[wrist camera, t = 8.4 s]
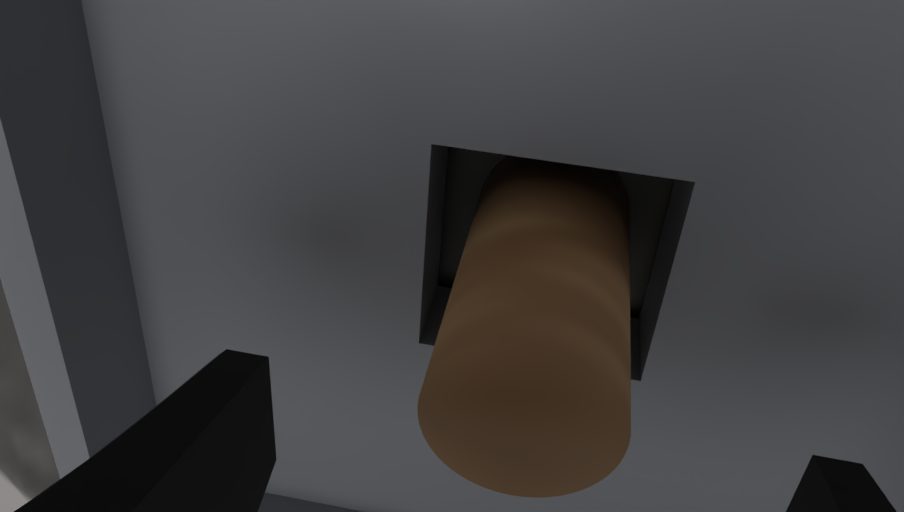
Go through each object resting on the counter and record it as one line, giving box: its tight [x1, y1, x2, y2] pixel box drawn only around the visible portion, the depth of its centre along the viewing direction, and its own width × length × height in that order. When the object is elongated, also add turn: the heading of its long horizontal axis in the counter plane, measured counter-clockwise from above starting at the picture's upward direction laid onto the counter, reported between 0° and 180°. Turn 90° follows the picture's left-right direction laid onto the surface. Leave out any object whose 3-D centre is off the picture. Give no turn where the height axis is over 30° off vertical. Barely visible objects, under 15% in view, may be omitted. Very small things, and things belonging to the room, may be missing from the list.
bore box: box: [0, 0, 904, 512], centre depth 14 cm, size 18×17×4 cm
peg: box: [418, 155, 631, 498], centre depth 14 cm, size 3×3×6 cm
